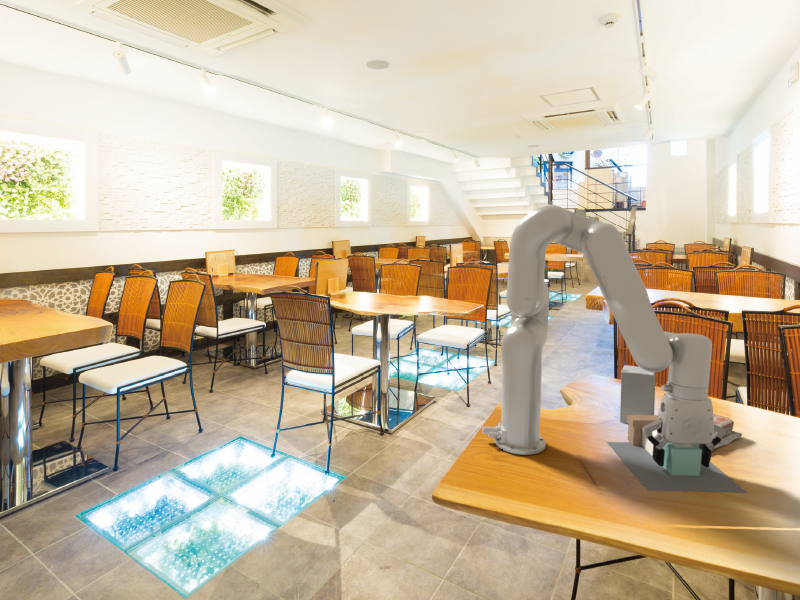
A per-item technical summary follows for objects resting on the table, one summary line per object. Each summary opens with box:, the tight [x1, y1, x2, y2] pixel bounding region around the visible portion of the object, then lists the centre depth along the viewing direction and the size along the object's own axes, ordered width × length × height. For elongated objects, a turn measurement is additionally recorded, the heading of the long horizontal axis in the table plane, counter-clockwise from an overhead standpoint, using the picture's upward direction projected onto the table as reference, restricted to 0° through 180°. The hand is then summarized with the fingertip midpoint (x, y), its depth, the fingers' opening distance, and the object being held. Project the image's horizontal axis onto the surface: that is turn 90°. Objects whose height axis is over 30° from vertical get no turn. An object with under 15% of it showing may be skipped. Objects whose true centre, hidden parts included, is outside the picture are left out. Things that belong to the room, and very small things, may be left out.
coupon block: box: [627, 414, 658, 455], centre depth 112 cm, size 11×12×7 cm
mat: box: [606, 441, 748, 494], centre depth 105 cm, size 20×22×1 cm
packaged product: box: [695, 413, 743, 449], centre depth 118 cm, size 18×5×10 cm
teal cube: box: [663, 442, 702, 476], centre depth 103 cm, size 6×5×6 cm
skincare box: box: [619, 364, 657, 425], centre depth 128 cm, size 8×7×16 cm
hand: (680, 463), depth 103 cm, fingers open, 9 cm apart
